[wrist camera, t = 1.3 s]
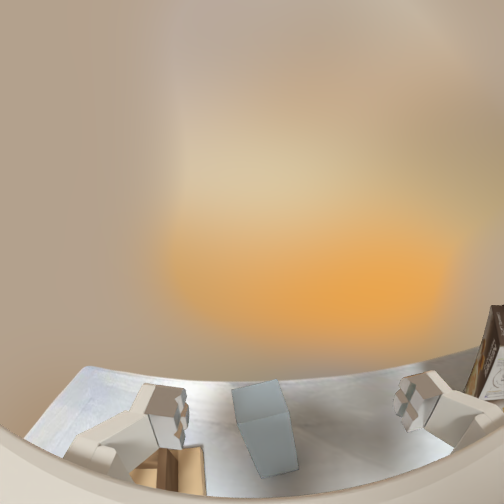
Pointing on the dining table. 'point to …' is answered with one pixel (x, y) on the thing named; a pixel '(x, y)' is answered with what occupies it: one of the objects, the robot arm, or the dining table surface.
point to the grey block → (266, 427)
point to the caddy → (173, 471)
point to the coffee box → (490, 362)
